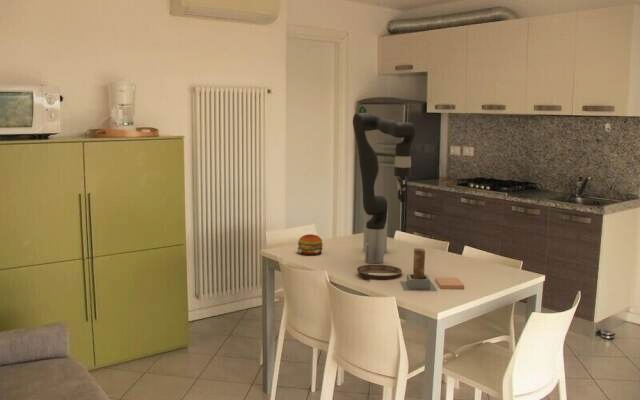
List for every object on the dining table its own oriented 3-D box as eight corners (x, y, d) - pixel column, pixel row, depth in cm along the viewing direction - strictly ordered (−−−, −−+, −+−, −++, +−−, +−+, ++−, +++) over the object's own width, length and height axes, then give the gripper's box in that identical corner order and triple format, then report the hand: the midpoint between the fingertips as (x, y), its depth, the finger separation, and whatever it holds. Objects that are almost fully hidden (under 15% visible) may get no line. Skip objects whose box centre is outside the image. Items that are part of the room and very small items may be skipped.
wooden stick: (414, 287, 257) (415, 250, 254) (412, 284, 261) (414, 248, 258) (423, 287, 257) (425, 250, 254) (422, 284, 261) (423, 248, 258)
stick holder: (403, 292, 252) (404, 281, 251) (399, 283, 266) (400, 272, 265) (437, 293, 252) (437, 281, 251) (431, 283, 266) (431, 272, 265)
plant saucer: (373, 268, 292) (373, 261, 292) (410, 276, 279) (410, 269, 279) (347, 276, 276) (347, 269, 276) (385, 285, 263) (385, 278, 263)
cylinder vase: (391, 252, 325) (392, 206, 321) (373, 255, 318) (374, 208, 314) (376, 248, 335) (377, 203, 331) (358, 250, 328) (359, 205, 324)
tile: (434, 284, 267) (440, 292, 255) (435, 277, 267) (440, 285, 255) (457, 284, 267) (463, 292, 256) (457, 277, 267) (464, 285, 255)
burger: (327, 254, 319) (328, 235, 317) (306, 257, 311) (306, 238, 310) (313, 249, 330) (313, 231, 328) (292, 252, 322) (292, 233, 321)
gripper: (392, 164, 284) (391, 198, 287) (396, 167, 270) (395, 202, 273) (408, 164, 284) (407, 198, 287) (413, 167, 270) (411, 203, 273)
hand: (401, 200), depth 280 cm, fingers open, 8 cm apart
